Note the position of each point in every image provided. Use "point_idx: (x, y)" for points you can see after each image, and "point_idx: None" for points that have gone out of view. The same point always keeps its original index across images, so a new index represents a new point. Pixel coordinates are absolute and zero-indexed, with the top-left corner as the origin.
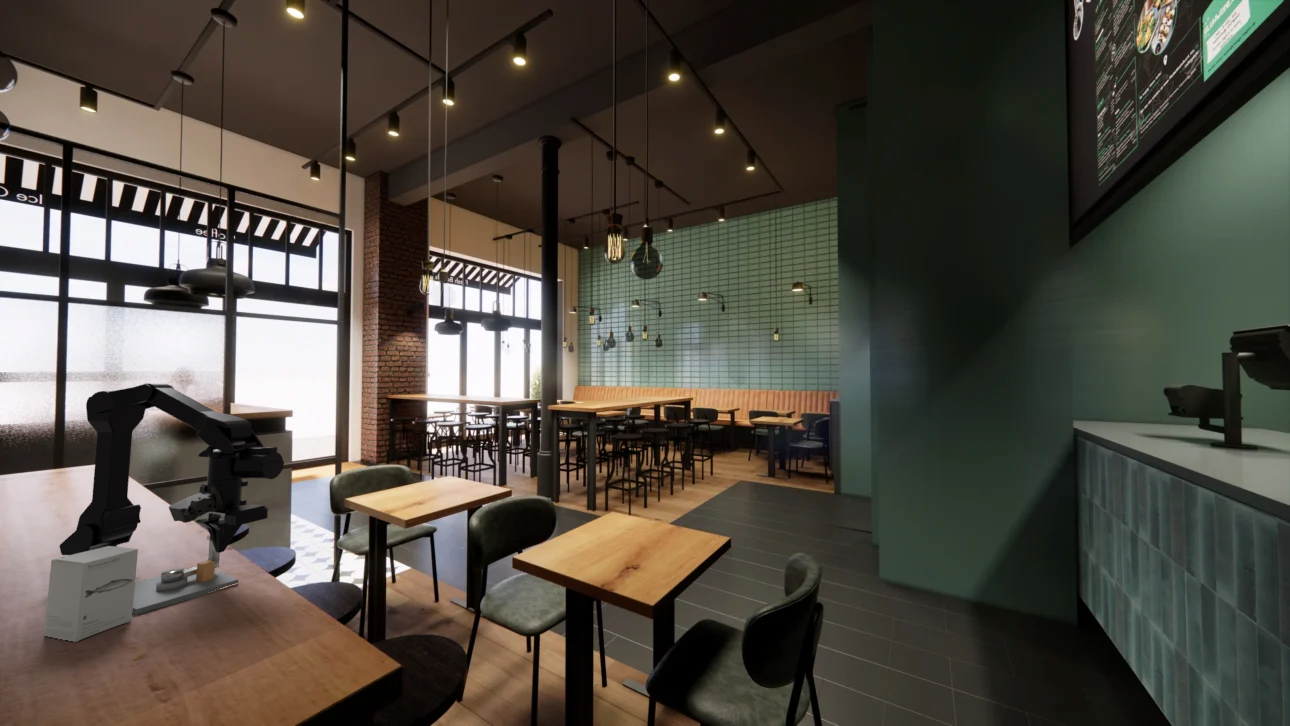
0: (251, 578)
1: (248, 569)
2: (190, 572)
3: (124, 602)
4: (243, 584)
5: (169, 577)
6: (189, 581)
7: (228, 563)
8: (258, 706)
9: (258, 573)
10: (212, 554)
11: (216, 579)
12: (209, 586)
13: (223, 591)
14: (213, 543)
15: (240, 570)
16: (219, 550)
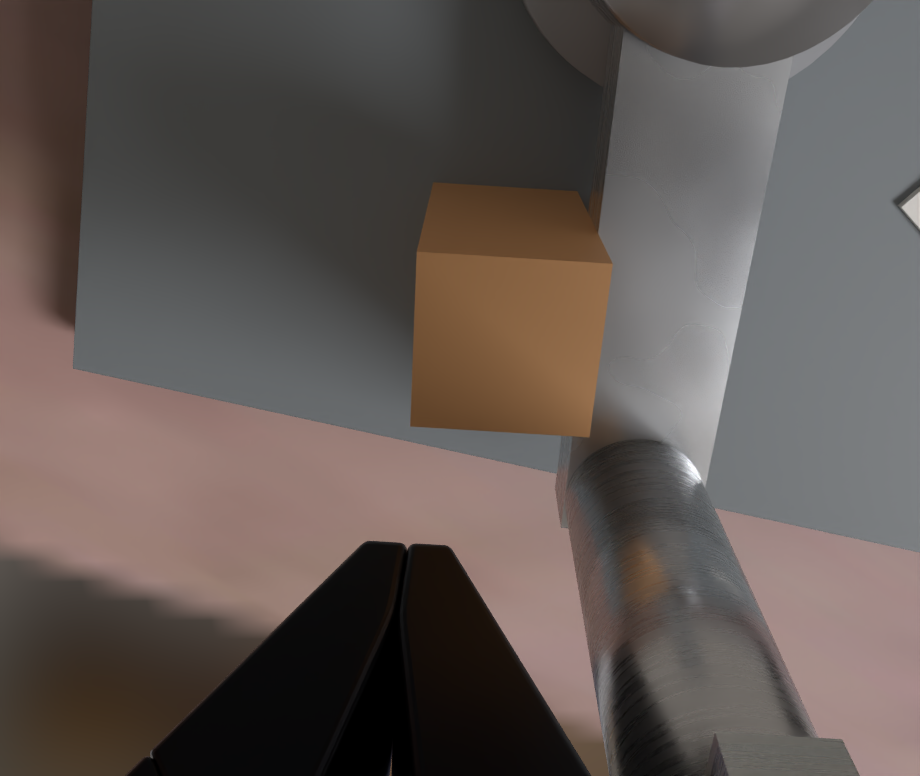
0: (159, 504)
1: None
2: (606, 135)
3: None
4: (43, 362)
5: None
6: None
7: (867, 720)
8: None
9: (245, 614)
10: (615, 542)
11: (341, 293)
12: (153, 89)
13: (15, 141)
14: (498, 653)
15: (528, 624)
16: (344, 568)
